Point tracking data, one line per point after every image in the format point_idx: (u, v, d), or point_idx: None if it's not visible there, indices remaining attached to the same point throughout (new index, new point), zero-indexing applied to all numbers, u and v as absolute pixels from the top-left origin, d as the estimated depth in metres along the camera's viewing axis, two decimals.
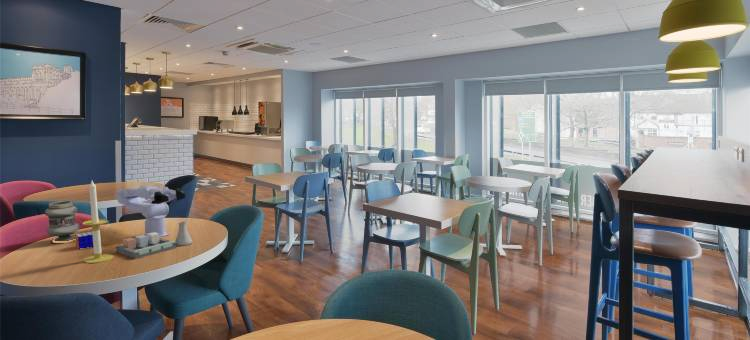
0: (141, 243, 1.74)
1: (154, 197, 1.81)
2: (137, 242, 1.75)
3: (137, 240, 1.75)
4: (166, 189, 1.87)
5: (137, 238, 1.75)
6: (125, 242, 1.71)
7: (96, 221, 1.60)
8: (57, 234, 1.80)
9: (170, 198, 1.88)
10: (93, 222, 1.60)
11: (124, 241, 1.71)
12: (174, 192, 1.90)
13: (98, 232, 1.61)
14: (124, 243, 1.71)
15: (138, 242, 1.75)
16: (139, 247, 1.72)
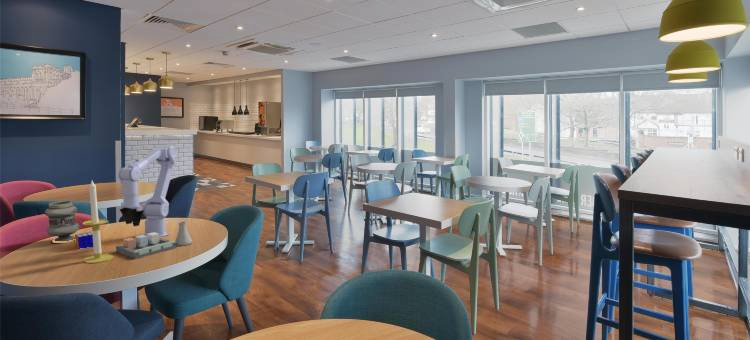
0: (141, 243, 1.74)
1: None
2: (137, 242, 1.75)
3: (137, 240, 1.75)
4: None
5: (137, 238, 1.75)
6: (125, 242, 1.71)
7: (96, 221, 1.60)
8: (57, 234, 1.80)
9: None
10: (93, 222, 1.60)
11: (124, 241, 1.71)
12: None
13: (98, 232, 1.61)
14: (124, 243, 1.71)
15: (138, 242, 1.75)
16: (139, 247, 1.72)
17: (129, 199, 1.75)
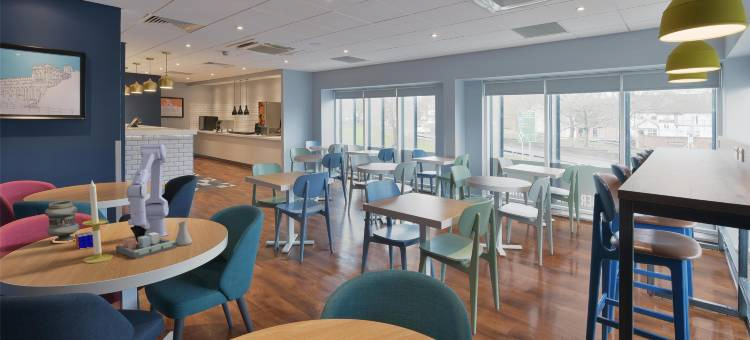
0: (143, 244, 1.73)
1: None
2: (139, 243, 1.74)
3: (139, 241, 1.74)
4: None
5: (139, 239, 1.74)
6: (125, 242, 1.71)
7: (96, 221, 1.60)
8: (57, 234, 1.80)
9: None
10: (93, 222, 1.60)
11: (124, 241, 1.71)
12: None
13: (98, 232, 1.61)
14: (124, 243, 1.71)
15: (140, 243, 1.74)
16: (139, 247, 1.72)
17: (136, 217, 1.73)
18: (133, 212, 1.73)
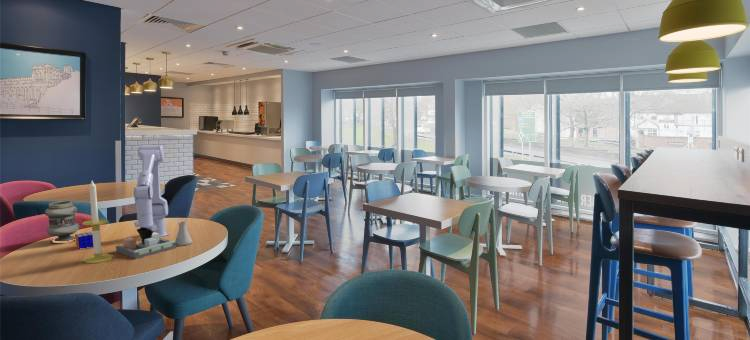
0: None
1: None
2: (146, 245, 1.71)
3: (146, 243, 1.71)
4: None
5: (146, 241, 1.71)
6: (125, 242, 1.71)
7: (96, 221, 1.60)
8: (57, 234, 1.80)
9: None
10: (93, 222, 1.60)
11: (124, 241, 1.71)
12: None
13: (98, 232, 1.61)
14: (124, 243, 1.71)
15: (147, 245, 1.71)
16: (139, 247, 1.72)
17: (143, 218, 1.70)
18: (141, 214, 1.70)
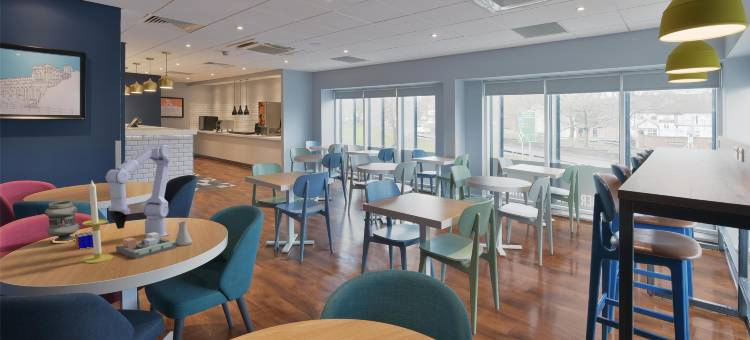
0: None
1: None
2: (146, 245, 1.71)
3: (146, 243, 1.71)
4: None
5: (146, 241, 1.71)
6: (125, 242, 1.71)
7: (96, 221, 1.60)
8: (57, 234, 1.80)
9: None
10: (93, 222, 1.60)
11: (124, 241, 1.71)
12: None
13: (98, 232, 1.61)
14: (124, 243, 1.71)
15: (147, 245, 1.71)
16: (139, 247, 1.72)
17: (117, 202, 1.71)
18: (111, 197, 1.71)
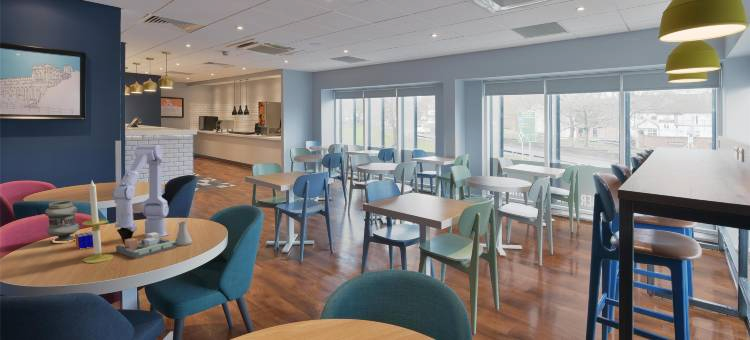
0: None
1: None
2: (146, 245, 1.71)
3: (146, 243, 1.71)
4: None
5: (146, 241, 1.71)
6: (126, 243, 1.70)
7: (96, 221, 1.60)
8: (57, 234, 1.80)
9: None
10: (93, 222, 1.60)
11: (125, 242, 1.71)
12: None
13: (98, 232, 1.61)
14: (125, 244, 1.71)
15: (147, 245, 1.71)
16: (139, 247, 1.72)
17: (123, 219, 1.69)
18: (119, 214, 1.69)
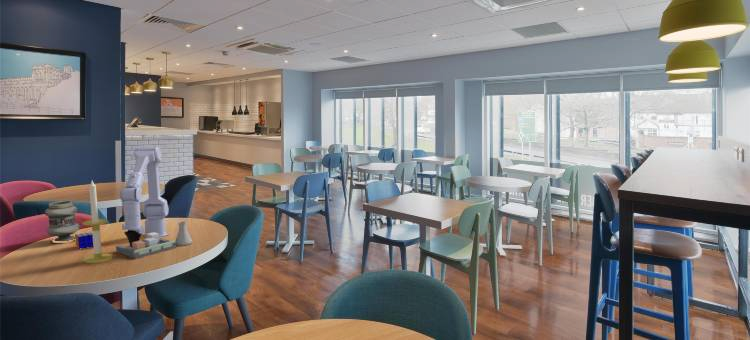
0: None
1: None
2: (146, 245, 1.71)
3: (146, 243, 1.71)
4: None
5: (146, 241, 1.71)
6: (134, 245, 1.67)
7: (96, 221, 1.60)
8: (57, 234, 1.80)
9: None
10: (93, 222, 1.60)
11: (133, 244, 1.67)
12: None
13: (98, 232, 1.61)
14: (133, 246, 1.67)
15: (147, 245, 1.71)
16: None
17: (131, 221, 1.66)
18: (127, 216, 1.66)
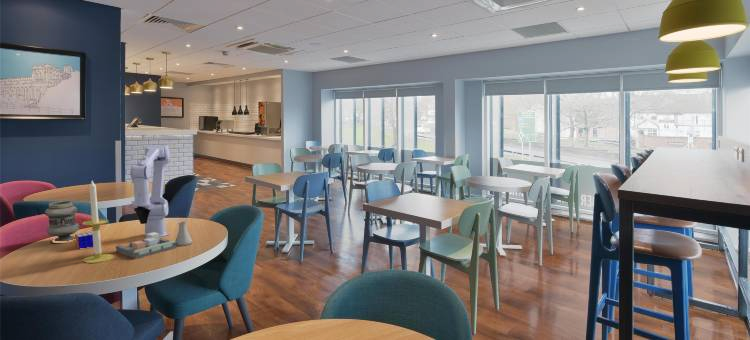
0: None
1: None
2: (146, 245, 1.71)
3: (146, 243, 1.71)
4: (135, 205, 1.74)
5: (146, 241, 1.71)
6: (134, 245, 1.67)
7: (96, 221, 1.60)
8: (57, 234, 1.80)
9: None
10: (93, 222, 1.60)
11: (133, 244, 1.67)
12: None
13: (98, 232, 1.61)
14: (133, 246, 1.67)
15: (147, 245, 1.71)
16: None
17: (140, 197, 1.74)
18: (137, 193, 1.73)
